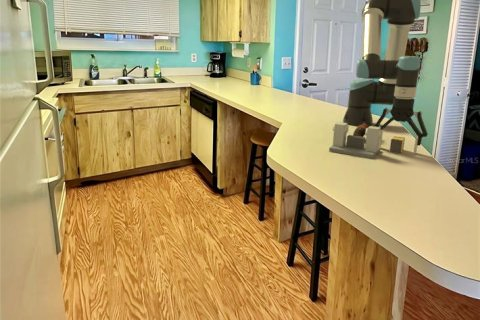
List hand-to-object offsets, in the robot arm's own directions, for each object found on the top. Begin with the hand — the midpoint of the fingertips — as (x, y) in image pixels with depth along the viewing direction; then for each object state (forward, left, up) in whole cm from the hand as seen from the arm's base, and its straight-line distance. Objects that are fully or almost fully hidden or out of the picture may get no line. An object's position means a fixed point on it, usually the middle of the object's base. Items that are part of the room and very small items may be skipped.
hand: (396, 150), depth 148 cm
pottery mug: (-11, -16, -1) cm, 20 cm away
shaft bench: (+10, -14, 0) cm, 17 cm away
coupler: (0, 0, 0) cm, 0 cm away
